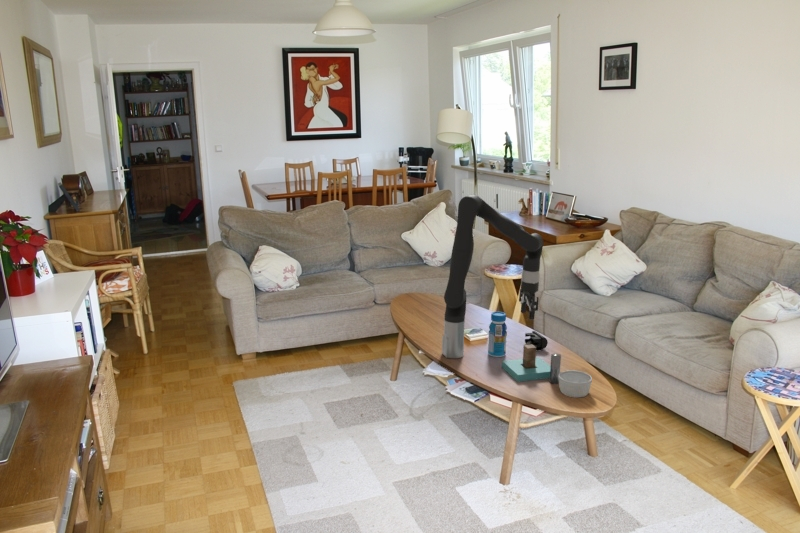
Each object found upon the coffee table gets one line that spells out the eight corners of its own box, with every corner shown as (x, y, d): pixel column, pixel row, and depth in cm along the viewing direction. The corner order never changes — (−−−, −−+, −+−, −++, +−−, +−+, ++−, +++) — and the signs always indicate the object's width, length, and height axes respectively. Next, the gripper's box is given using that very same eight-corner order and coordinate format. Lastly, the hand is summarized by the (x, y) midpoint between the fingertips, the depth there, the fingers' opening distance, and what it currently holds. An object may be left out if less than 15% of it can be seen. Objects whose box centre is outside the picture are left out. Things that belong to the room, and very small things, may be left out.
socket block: (517, 381, 282) (517, 375, 281) (502, 367, 297) (502, 360, 296) (556, 377, 286) (556, 370, 286) (538, 363, 301) (539, 357, 301)
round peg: (552, 384, 280) (554, 357, 277) (547, 380, 283) (549, 353, 280) (560, 383, 281) (562, 356, 278) (556, 379, 284) (558, 353, 281)
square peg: (526, 374, 289) (527, 348, 286) (522, 370, 293) (523, 345, 290) (534, 373, 290) (536, 347, 287) (530, 369, 294) (532, 344, 291)
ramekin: (555, 396, 269) (556, 379, 267) (559, 383, 281) (560, 367, 279) (589, 401, 264) (590, 385, 263) (592, 388, 276) (593, 372, 274)
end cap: (547, 350, 318) (548, 336, 316) (533, 351, 316) (534, 338, 314) (537, 343, 327) (538, 330, 325) (524, 344, 325) (524, 331, 323)
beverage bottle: (484, 354, 311) (485, 313, 307) (494, 349, 317) (496, 309, 313) (499, 359, 306) (501, 317, 301) (509, 354, 312) (511, 313, 307)
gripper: (515, 275, 293) (512, 311, 297) (529, 284, 280) (526, 321, 284) (531, 275, 295) (528, 310, 299) (545, 284, 282) (542, 320, 286)
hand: (527, 315), depth 291 cm, fingers open, 8 cm apart
